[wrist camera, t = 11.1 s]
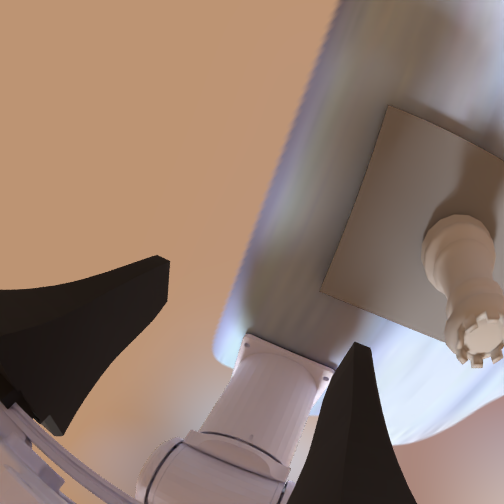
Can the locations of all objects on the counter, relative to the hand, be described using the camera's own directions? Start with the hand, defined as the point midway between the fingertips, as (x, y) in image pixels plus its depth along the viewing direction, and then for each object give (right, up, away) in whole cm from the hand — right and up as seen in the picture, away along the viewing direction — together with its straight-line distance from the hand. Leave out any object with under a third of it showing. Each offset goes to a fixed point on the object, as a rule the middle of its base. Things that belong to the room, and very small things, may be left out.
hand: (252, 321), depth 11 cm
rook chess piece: (+12, +3, +4) cm, 13 cm away
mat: (+12, +3, +5) cm, 13 cm away
